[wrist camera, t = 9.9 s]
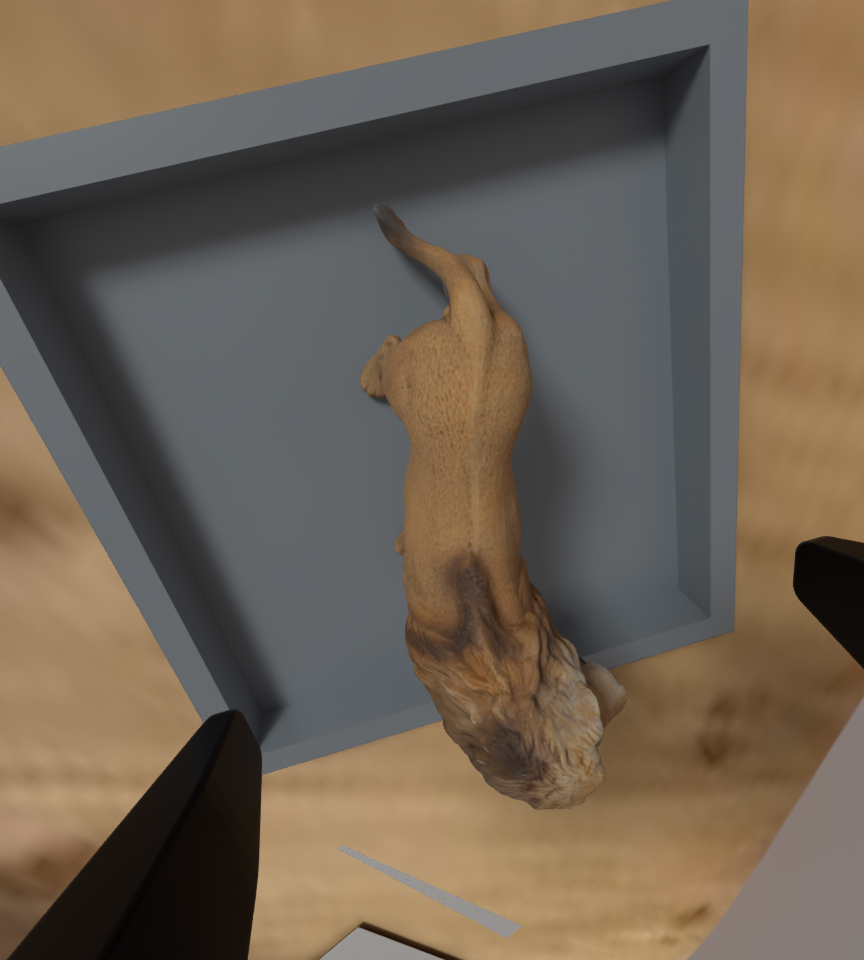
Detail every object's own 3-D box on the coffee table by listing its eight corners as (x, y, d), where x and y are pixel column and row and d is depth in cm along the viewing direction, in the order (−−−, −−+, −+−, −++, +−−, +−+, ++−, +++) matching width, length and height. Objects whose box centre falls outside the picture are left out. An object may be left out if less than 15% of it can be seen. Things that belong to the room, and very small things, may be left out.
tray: (693, 594, 22) (733, 630, 20) (249, 727, 21) (237, 782, 18) (683, 33, 14) (748, -17, 12) (-29, 191, 13) (-111, 170, 11)
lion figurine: (545, 591, 20) (685, 807, 12) (418, 632, 20) (470, 883, 11) (460, 183, 14) (620, 35, 6) (280, 234, 14) (181, 154, 6)
